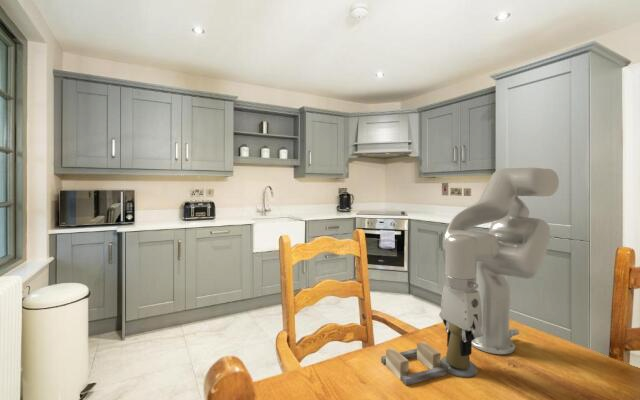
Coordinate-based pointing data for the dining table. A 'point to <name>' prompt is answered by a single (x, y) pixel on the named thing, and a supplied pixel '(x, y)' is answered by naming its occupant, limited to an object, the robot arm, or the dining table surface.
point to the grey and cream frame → (423, 353)
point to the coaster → (457, 371)
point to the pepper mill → (456, 349)
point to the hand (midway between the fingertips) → (459, 349)
